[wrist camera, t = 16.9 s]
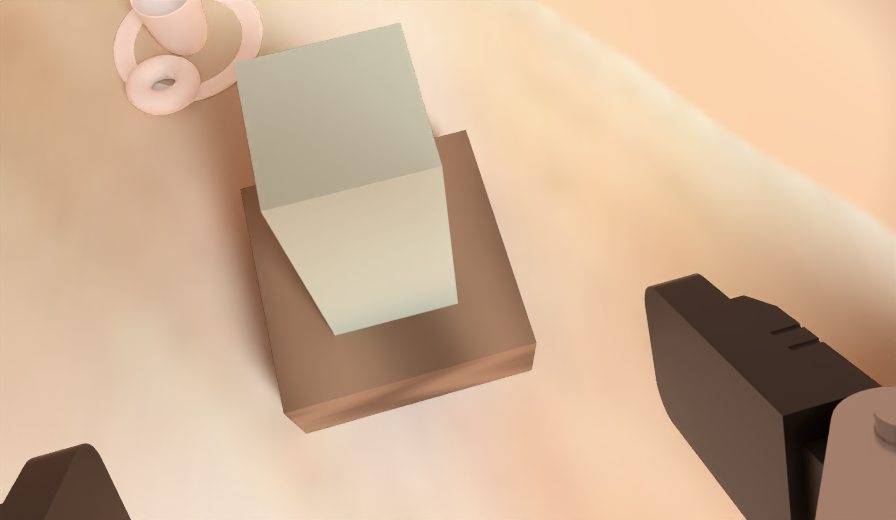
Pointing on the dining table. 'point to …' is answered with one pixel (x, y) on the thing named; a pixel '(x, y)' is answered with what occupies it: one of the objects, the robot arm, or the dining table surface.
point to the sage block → (351, 176)
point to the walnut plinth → (403, 340)
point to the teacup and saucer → (177, 52)
